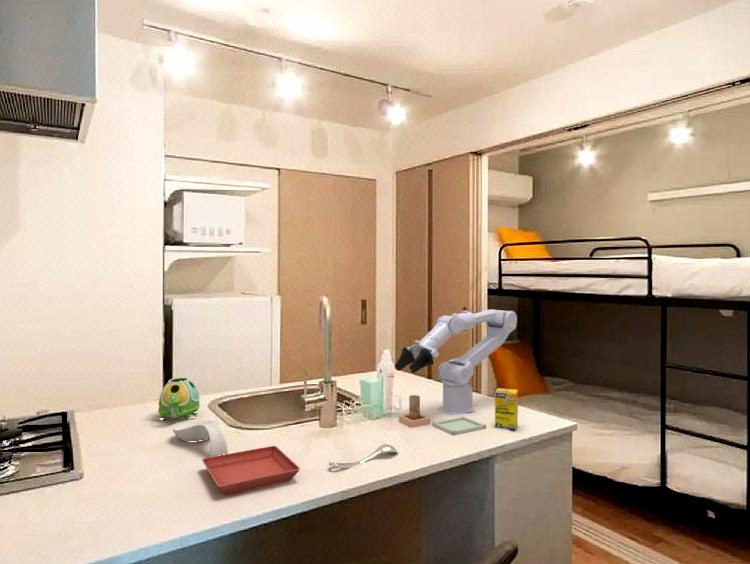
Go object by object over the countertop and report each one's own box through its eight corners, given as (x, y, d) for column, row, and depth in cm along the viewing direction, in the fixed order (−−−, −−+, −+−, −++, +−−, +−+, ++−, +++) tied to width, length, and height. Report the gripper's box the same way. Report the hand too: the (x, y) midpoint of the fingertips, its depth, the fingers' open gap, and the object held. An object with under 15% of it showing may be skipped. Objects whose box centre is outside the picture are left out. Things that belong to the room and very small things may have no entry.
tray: (463, 420, 157) (463, 416, 157) (486, 429, 148) (486, 425, 148) (432, 426, 151) (432, 422, 151) (453, 436, 142) (453, 431, 142)
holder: (417, 419, 158) (417, 412, 158) (430, 425, 152) (430, 418, 152) (399, 422, 155) (399, 415, 155) (411, 428, 149) (411, 421, 149)
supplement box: (494, 428, 149) (494, 391, 149) (497, 423, 155) (497, 387, 154) (515, 431, 147) (515, 393, 147) (517, 425, 152) (518, 389, 152)
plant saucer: (201, 471, 119) (201, 457, 119) (275, 457, 128) (275, 444, 128) (218, 502, 104) (218, 486, 103) (301, 483, 112) (301, 468, 112)
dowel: (415, 420, 156) (415, 394, 156) (421, 423, 153) (421, 397, 153) (407, 422, 154) (407, 396, 154) (413, 425, 152) (413, 398, 151)
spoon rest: (167, 438, 142) (166, 412, 142) (208, 429, 150) (208, 405, 150) (197, 463, 124) (196, 434, 124) (242, 452, 131) (242, 424, 131)
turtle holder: (149, 428, 150) (148, 388, 150) (164, 411, 168) (163, 375, 168) (192, 426, 152) (192, 386, 152) (203, 409, 170) (202, 374, 170)
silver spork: (334, 458, 117) (324, 452, 120) (334, 474, 117) (323, 467, 120) (402, 445, 128) (391, 440, 132) (401, 459, 128) (390, 454, 132)
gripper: (412, 331, 166) (384, 357, 160) (440, 332, 154) (411, 360, 148) (422, 348, 168) (395, 375, 162) (451, 350, 156) (423, 379, 149)
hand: (403, 369), depth 155 cm, fingers open, 7 cm apart
